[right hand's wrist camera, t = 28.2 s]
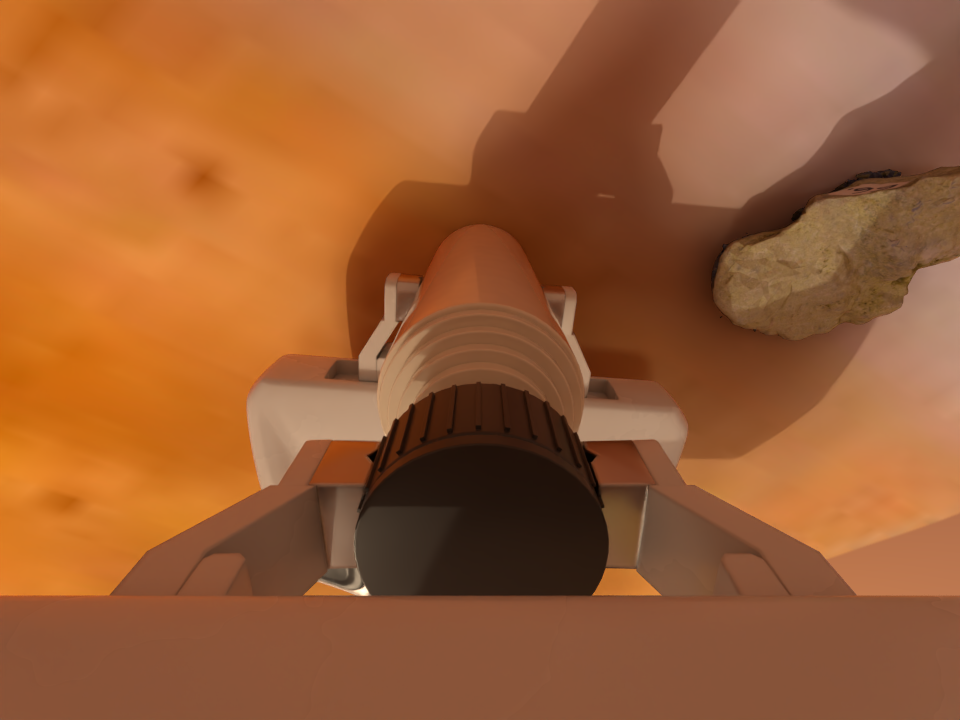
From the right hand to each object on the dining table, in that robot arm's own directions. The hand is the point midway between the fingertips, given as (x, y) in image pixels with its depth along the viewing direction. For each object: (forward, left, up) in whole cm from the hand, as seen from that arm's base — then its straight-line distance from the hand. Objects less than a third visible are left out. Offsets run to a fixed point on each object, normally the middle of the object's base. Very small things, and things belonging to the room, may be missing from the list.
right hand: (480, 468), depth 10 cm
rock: (-18, 0, -19) cm, 26 cm away
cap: (0, 0, +2) cm, 2 cm away
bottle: (0, 0, -19) cm, 19 cm away
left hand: (0, -1, -13) cm, 13 cm away
